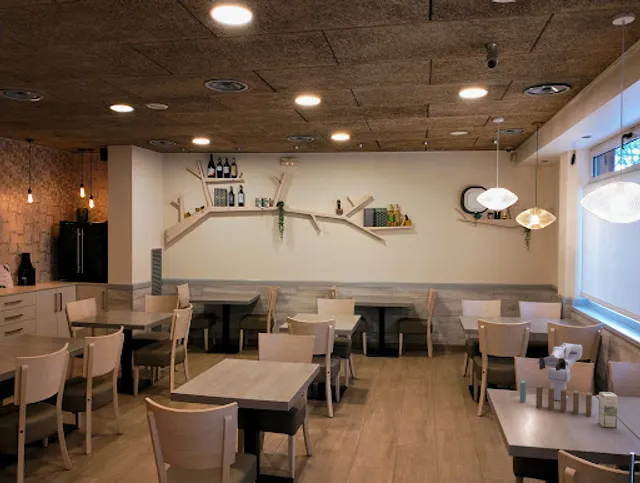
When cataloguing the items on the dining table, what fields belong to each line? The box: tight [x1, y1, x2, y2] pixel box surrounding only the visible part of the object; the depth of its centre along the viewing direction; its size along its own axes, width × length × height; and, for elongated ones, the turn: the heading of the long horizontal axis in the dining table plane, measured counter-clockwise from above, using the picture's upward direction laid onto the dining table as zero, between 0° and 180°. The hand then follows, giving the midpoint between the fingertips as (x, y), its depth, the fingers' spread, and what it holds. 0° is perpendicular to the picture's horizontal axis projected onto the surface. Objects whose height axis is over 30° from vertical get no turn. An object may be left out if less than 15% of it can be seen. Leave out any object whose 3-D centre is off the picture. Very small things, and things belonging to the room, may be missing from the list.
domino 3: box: [547, 386, 555, 411], centre depth 264 cm, size 5×2×10 cm, turn 149°
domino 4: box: [559, 388, 567, 413], centre depth 262 cm, size 5×2×10 cm, turn 149°
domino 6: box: [585, 392, 593, 418], centre depth 256 cm, size 5×2×10 cm, turn 149°
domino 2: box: [535, 384, 543, 409], centre depth 267 cm, size 5×2×10 cm, turn 149°
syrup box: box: [597, 391, 619, 429], centre depth 242 cm, size 6×6×14 cm
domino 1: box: [519, 379, 527, 403], centre depth 276 cm, size 5×2×10 cm, turn 149°
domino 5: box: [572, 389, 580, 415], centre depth 259 cm, size 5×2×10 cm, turn 149°
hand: (548, 368), depth 264 cm, fingers open, 7 cm apart
